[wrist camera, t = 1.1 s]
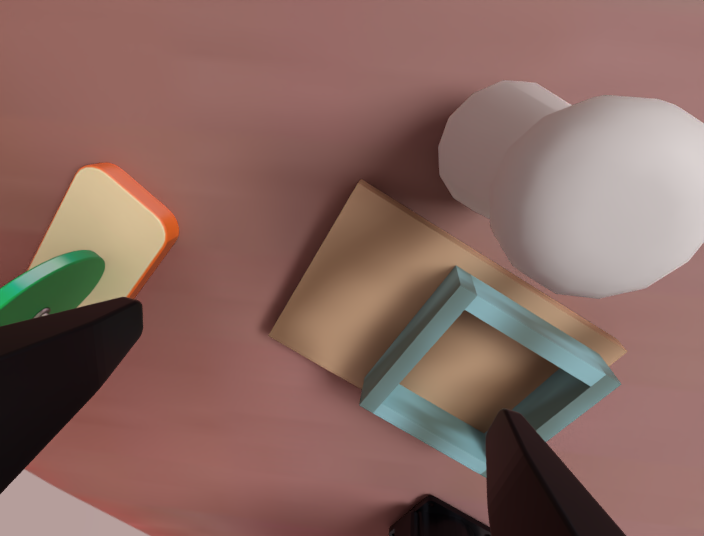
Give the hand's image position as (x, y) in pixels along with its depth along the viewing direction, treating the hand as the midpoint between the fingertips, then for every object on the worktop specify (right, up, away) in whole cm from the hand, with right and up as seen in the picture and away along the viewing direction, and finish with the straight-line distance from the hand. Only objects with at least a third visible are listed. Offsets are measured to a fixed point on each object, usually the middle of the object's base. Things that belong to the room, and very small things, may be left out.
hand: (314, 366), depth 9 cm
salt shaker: (+8, +9, +10) cm, 16 cm away
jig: (+6, -2, +15) cm, 16 cm away
